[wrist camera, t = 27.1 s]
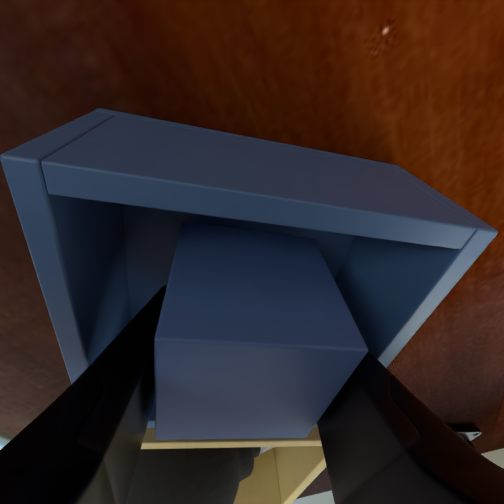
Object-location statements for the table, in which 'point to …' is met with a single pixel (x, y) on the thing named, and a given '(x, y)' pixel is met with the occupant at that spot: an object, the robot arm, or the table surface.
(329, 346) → the blue block
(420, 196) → the blue bin
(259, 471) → the cream bin
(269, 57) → the table surface
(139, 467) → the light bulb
